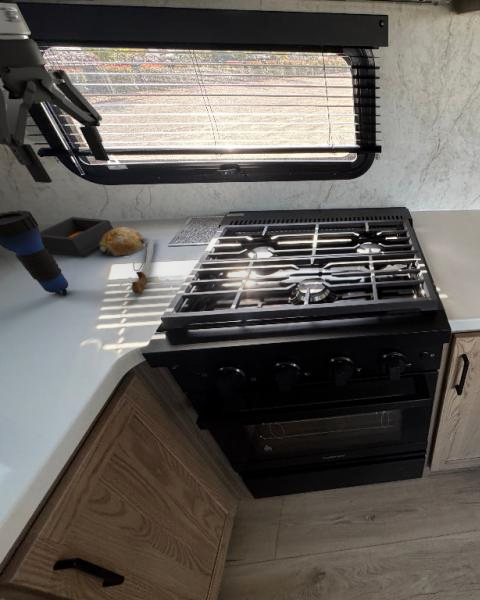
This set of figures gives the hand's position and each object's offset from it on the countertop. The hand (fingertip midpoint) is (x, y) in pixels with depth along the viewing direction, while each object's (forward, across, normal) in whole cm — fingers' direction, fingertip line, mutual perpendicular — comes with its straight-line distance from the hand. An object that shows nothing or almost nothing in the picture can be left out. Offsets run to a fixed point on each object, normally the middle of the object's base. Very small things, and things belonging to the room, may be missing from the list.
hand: (75, 170), depth 69 cm
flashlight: (+29, -7, +15) cm, 33 cm away
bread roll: (+29, +15, +16) cm, 36 cm away
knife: (+28, +7, +3) cm, 30 cm away
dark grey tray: (+28, +16, +30) cm, 44 cm away
